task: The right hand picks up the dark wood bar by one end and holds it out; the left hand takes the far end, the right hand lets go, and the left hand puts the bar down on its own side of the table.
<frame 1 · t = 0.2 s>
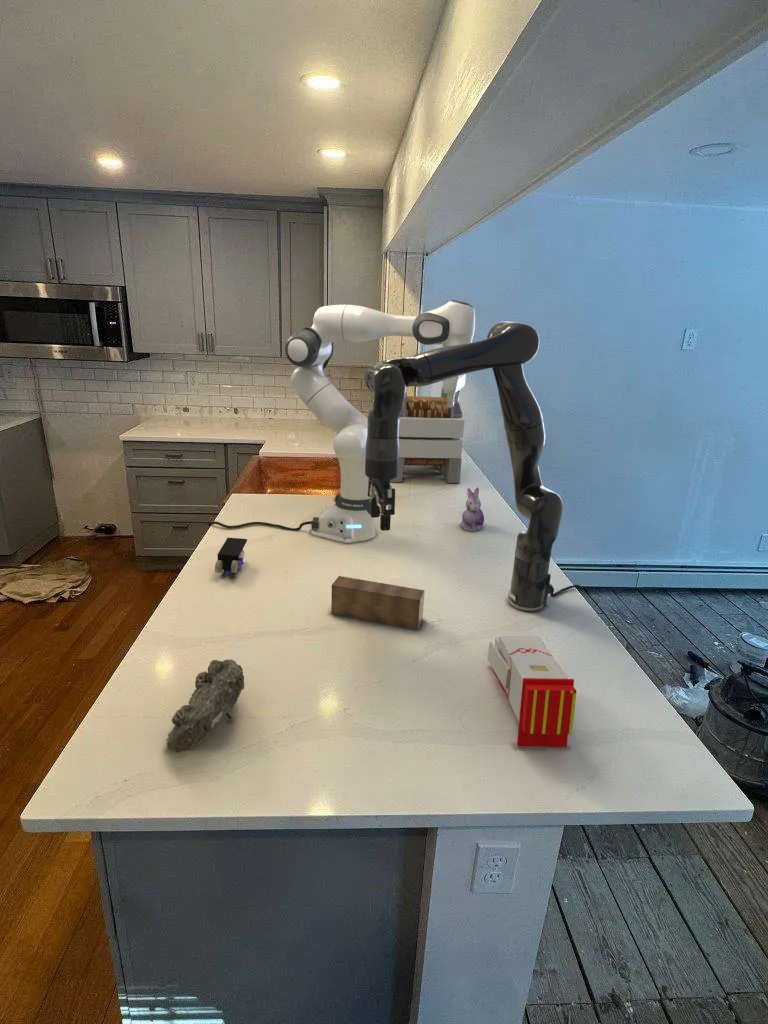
left hand: (452, 404, 174), 48 cm above the counter, tool pointing down, fingers open, 8 cm apart
right hand: (379, 523, 132), 28 cm above the counter, tool pointing down, fingers open, 8 cm apart
toy: (522, 699, 117), on the counter
fossil: (212, 717, 108), on the counter
figurine: (472, 527, 209), on the counter
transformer: (419, 473, 275), on the counter
figurine character: (232, 569, 168), on the counter
bar: (376, 616, 146), on the counter
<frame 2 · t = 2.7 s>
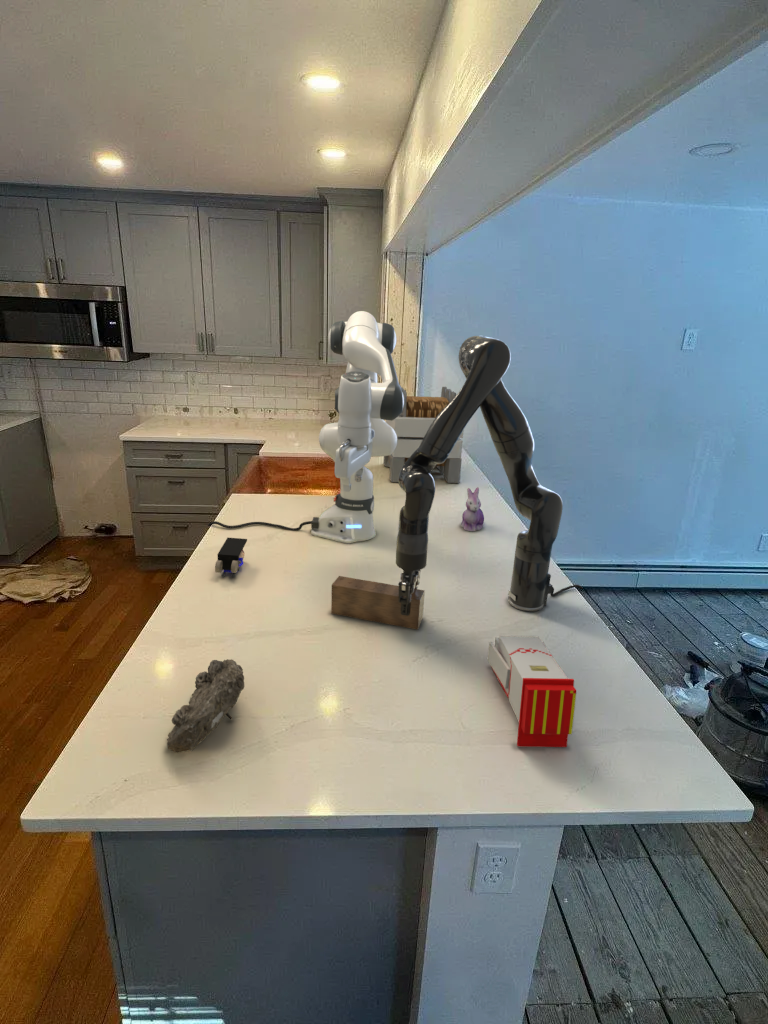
left hand: (352, 485, 154), 29 cm above the counter, tool pointing down, fingers open, 8 cm apart
right hand: (408, 608, 143), 4 cm above the counter, tool pointing down, fingers closed on bar, 5 cm apart
bar: (376, 616, 146), on the counter, touching right hand
everything else where it was.
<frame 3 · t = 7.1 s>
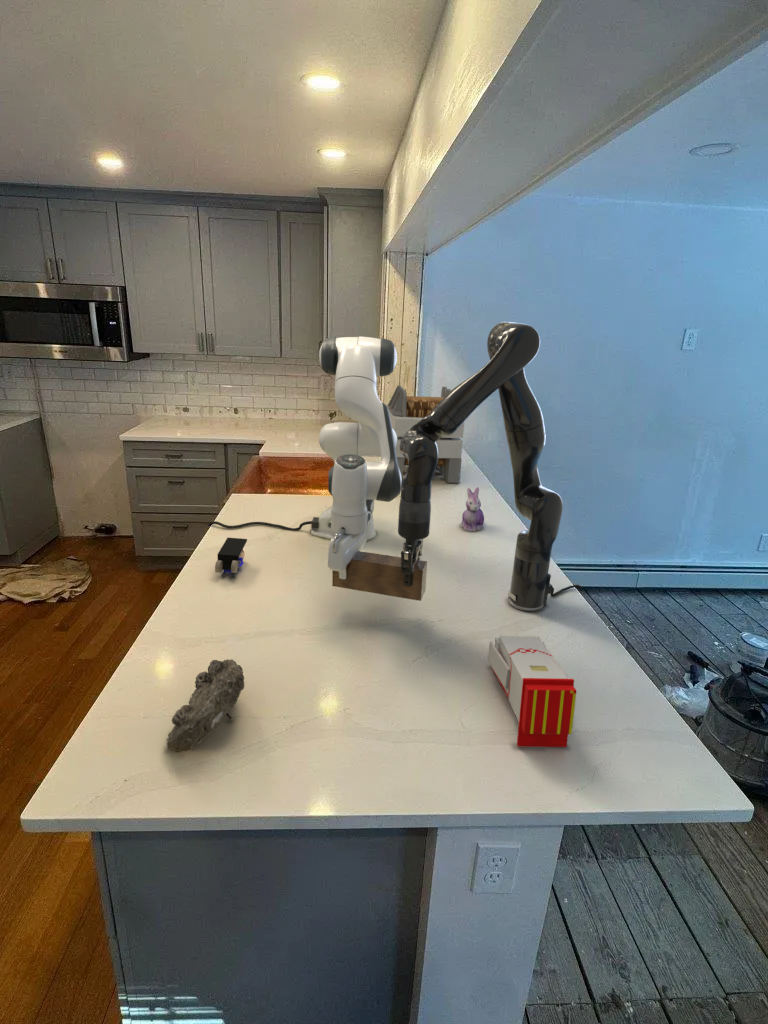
left hand: (347, 572, 144), 11 cm above the counter, tool pointing down, fingers closed on bar, 5 cm apart
right hand: (410, 580, 140), 12 cm above the counter, tool pointing down, fingers closed on bar, 5 cm apart
bar: (378, 588, 143), point 8 cm above the counter, touching left hand, right hand
everything else where it was.
when the right hand's fingers open (12 cm above the counter, at t = 8.2 s): bar stays where it is, held by the left hand.
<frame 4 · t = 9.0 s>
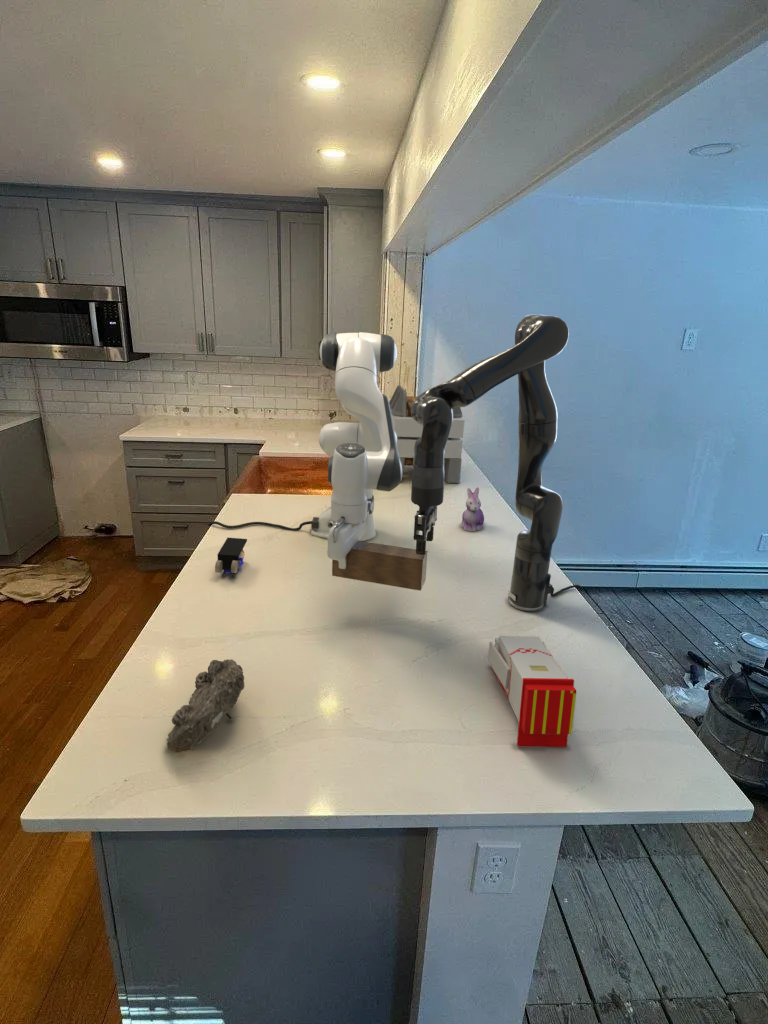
left hand: (347, 562, 144), 14 cm above the counter, tool pointing down, fingers closed on bar, 5 cm apart
right hand: (424, 547, 136), 21 cm above the counter, tool pointing down, fingers open, 8 cm apart
bar: (378, 578, 143), point 11 cm above the counter, touching left hand
everything else where it was.
when the left hand's fingers open (4 cm above the counter, at t = 12.1 s): bar stays where it is, on the counter.
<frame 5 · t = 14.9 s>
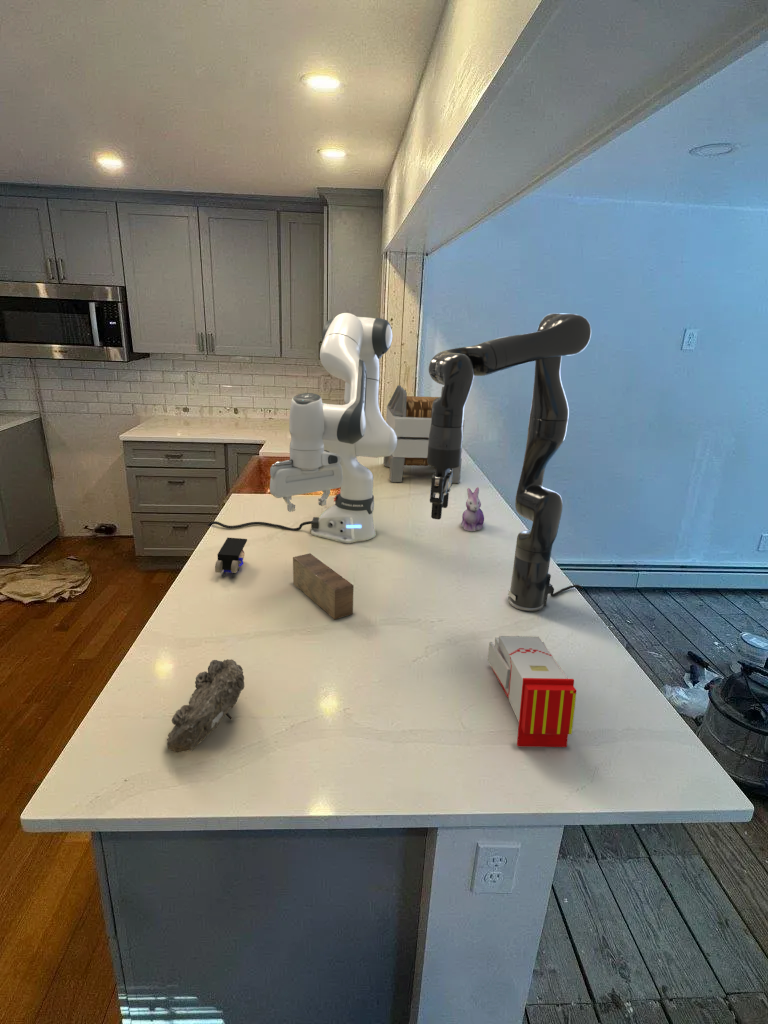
left hand: (307, 508, 152), 24 cm above the counter, tool pointing down, fingers open, 8 cm apart
right hand: (439, 512, 132), 30 cm above the counter, tool pointing down, fingers open, 8 cm apart
bar: (321, 598, 154), on the counter
everything else where it was.
at the end: bar inside the target area (8.0 cm from its centre), on the counter; the left hand is holding nothing; the right hand is holding nothing; bar at rest at the end (0.0 cm/s) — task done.
